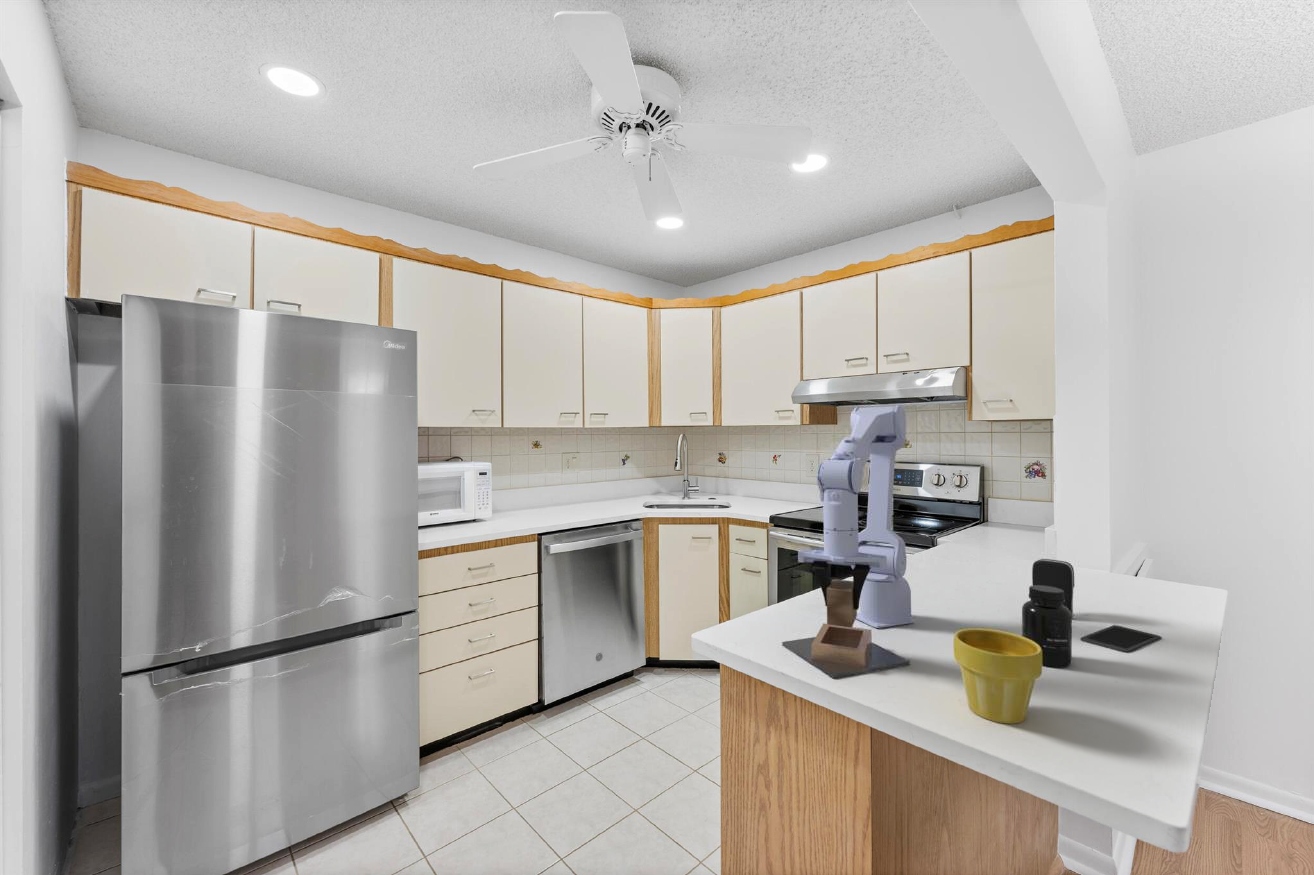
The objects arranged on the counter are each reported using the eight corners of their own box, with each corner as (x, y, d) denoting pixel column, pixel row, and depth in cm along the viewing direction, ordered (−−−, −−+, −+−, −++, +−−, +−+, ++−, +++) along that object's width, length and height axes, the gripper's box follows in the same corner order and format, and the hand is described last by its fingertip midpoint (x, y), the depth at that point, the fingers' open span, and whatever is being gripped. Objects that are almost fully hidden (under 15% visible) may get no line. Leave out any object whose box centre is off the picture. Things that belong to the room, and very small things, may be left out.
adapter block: (827, 624, 94) (826, 589, 94) (833, 612, 100) (833, 579, 100) (851, 627, 92) (851, 591, 92) (857, 615, 98) (856, 581, 98)
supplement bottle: (1058, 671, 87) (1056, 596, 87) (1013, 657, 94) (1012, 586, 94) (1081, 663, 91) (1079, 590, 91) (1036, 649, 97) (1035, 581, 97)
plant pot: (1058, 716, 74) (1056, 643, 74) (1020, 740, 68) (1019, 661, 68) (978, 687, 82) (977, 622, 82) (939, 707, 77) (938, 637, 77)
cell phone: (1163, 640, 101) (1163, 636, 101) (1127, 655, 94) (1127, 651, 94) (1114, 628, 107) (1114, 624, 107) (1078, 642, 101) (1078, 638, 101)
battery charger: (1076, 616, 114) (1075, 561, 114) (1072, 620, 111) (1071, 564, 111) (1036, 609, 119) (1035, 556, 119) (1031, 613, 116) (1030, 558, 116)
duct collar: (850, 634, 105) (850, 618, 105) (909, 664, 91) (909, 646, 91) (782, 645, 101) (781, 628, 101) (833, 678, 86) (832, 659, 86)
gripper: (793, 529, 96) (795, 607, 96) (883, 534, 89) (885, 618, 89) (802, 523, 102) (803, 596, 102) (887, 528, 95) (888, 606, 95)
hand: (842, 606), depth 96 cm, fingers closed on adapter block, 4 cm apart
